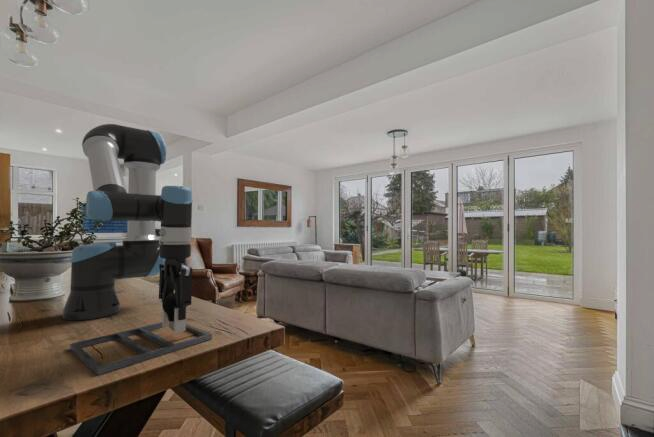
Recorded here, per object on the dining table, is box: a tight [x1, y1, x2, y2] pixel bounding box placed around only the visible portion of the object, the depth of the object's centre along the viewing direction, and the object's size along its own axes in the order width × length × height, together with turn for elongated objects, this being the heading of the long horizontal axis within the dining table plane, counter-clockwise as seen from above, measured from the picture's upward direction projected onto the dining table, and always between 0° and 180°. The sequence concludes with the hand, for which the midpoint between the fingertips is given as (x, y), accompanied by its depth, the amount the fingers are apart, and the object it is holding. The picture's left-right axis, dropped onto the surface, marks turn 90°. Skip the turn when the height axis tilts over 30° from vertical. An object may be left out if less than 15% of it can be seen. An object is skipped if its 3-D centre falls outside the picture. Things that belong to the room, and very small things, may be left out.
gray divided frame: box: [69, 321, 213, 376], centre depth 77 cm, size 20×25×1 cm
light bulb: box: [161, 292, 176, 331], centre depth 83 cm, size 6×6×10 cm
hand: (173, 328), depth 82 cm, fingers closed on light bulb, 6 cm apart
